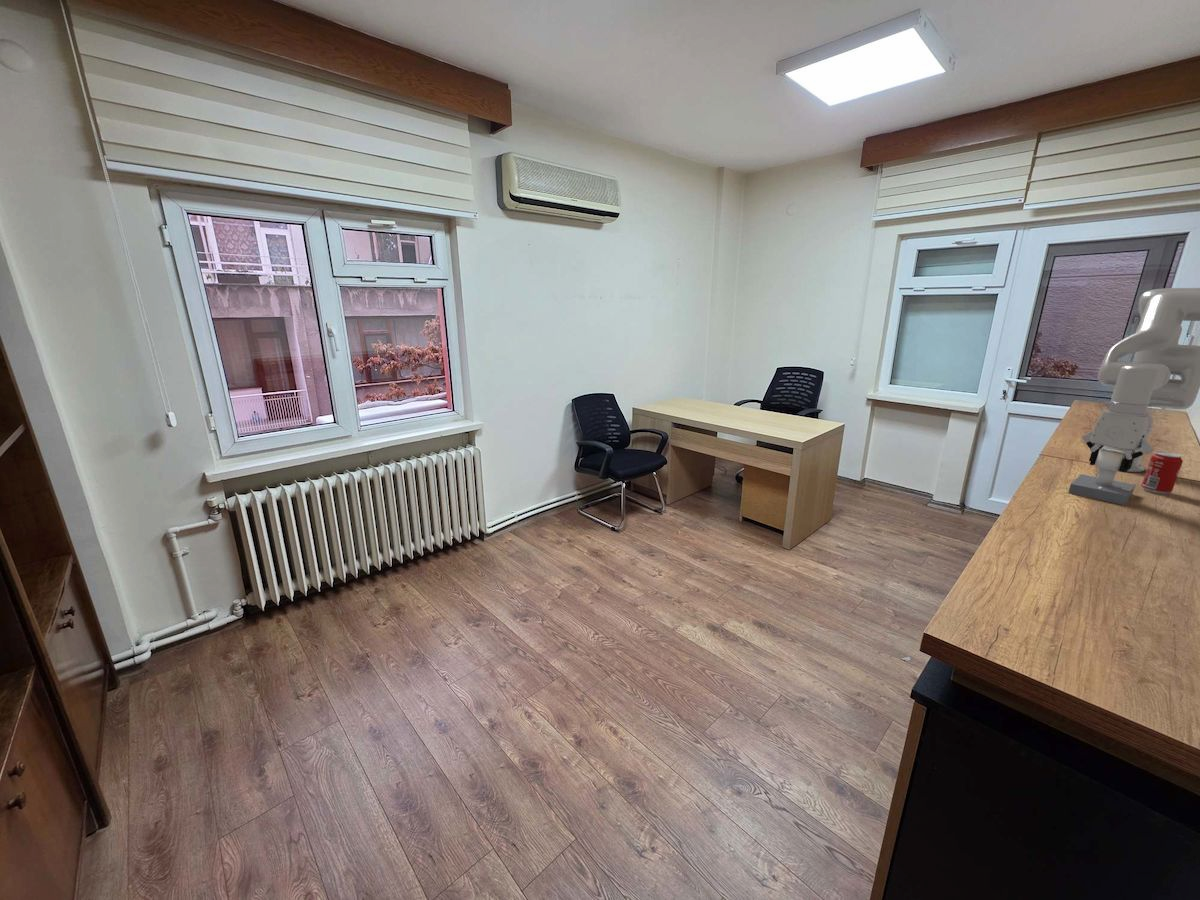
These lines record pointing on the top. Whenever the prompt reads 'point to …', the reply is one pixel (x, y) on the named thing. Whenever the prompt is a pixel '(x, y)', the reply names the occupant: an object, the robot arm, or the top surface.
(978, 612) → the top surface
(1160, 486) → the beverage can
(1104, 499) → the stub base
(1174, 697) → the top surface
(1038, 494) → the top surface
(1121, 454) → the white rounded dome
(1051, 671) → the top surface
